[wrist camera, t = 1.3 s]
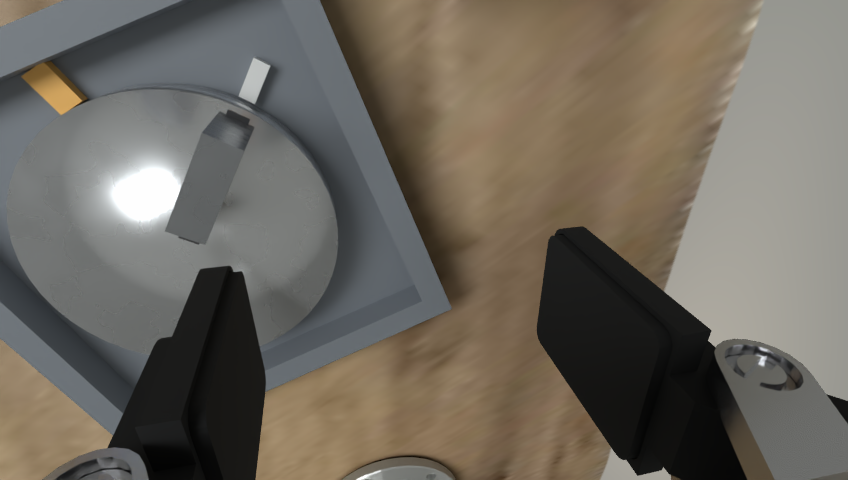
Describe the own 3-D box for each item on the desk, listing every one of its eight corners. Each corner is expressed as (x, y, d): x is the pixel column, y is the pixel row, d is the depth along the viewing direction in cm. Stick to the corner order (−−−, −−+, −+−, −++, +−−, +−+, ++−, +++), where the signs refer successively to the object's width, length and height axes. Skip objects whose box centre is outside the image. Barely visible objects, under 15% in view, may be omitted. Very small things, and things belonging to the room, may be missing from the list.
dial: (277, 362, 30) (270, 437, 25) (1, 293, 24) (-83, 372, 19) (380, 164, 26) (399, 205, 20) (71, 18, 20) (-14, 24, 14)
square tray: (440, 283, 32) (451, 309, 29) (146, 413, 31) (131, 451, 29) (284, -80, 21) (280, -91, 18) (-173, 113, 20) (-243, 129, 18)
